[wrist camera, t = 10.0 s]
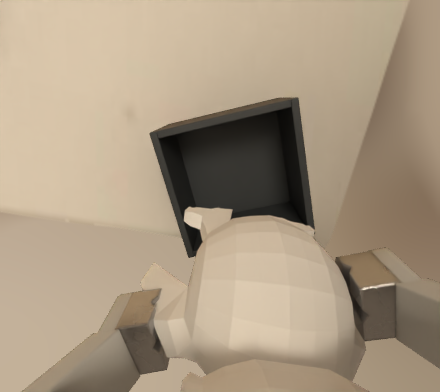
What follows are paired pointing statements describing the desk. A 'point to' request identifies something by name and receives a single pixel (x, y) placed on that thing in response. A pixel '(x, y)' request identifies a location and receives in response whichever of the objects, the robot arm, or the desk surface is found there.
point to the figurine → (258, 309)
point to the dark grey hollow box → (237, 164)
